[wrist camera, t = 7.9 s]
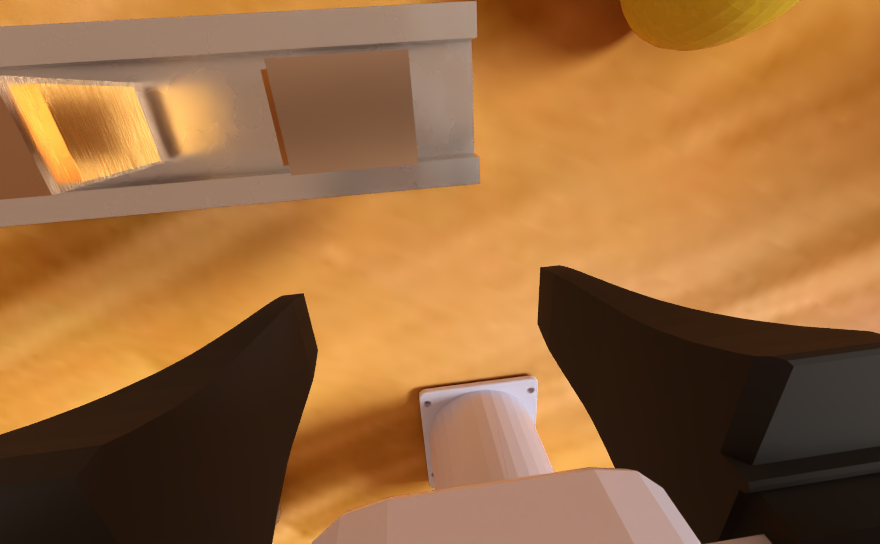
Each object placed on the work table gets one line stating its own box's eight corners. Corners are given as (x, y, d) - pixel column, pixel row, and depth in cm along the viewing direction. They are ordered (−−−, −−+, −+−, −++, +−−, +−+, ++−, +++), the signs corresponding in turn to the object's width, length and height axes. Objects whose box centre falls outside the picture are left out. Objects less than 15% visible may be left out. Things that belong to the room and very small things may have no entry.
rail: (471, 175, 19) (508, 212, 13) (10, 216, 18) (-195, 280, 11) (467, 11, 16) (512, -41, 10) (-90, 43, 15) (-443, 3, 8)
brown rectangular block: (410, 143, 17) (418, 164, 12) (315, 151, 17) (278, 176, 12) (403, 65, 16) (408, 49, 11) (298, 72, 16) (248, 59, 10)
